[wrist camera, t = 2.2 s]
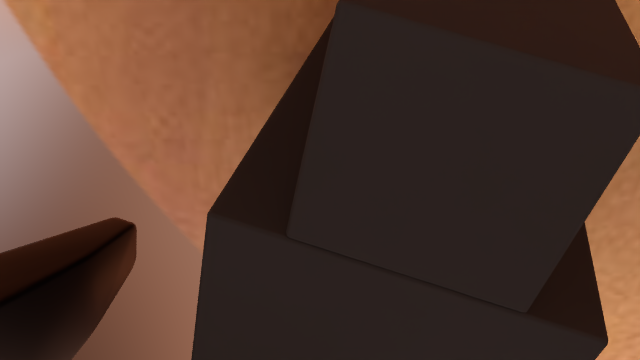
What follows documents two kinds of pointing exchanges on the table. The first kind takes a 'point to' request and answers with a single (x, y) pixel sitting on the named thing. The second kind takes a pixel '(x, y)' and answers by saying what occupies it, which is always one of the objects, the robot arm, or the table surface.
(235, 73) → the table surface
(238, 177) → the stepped dark grey block
